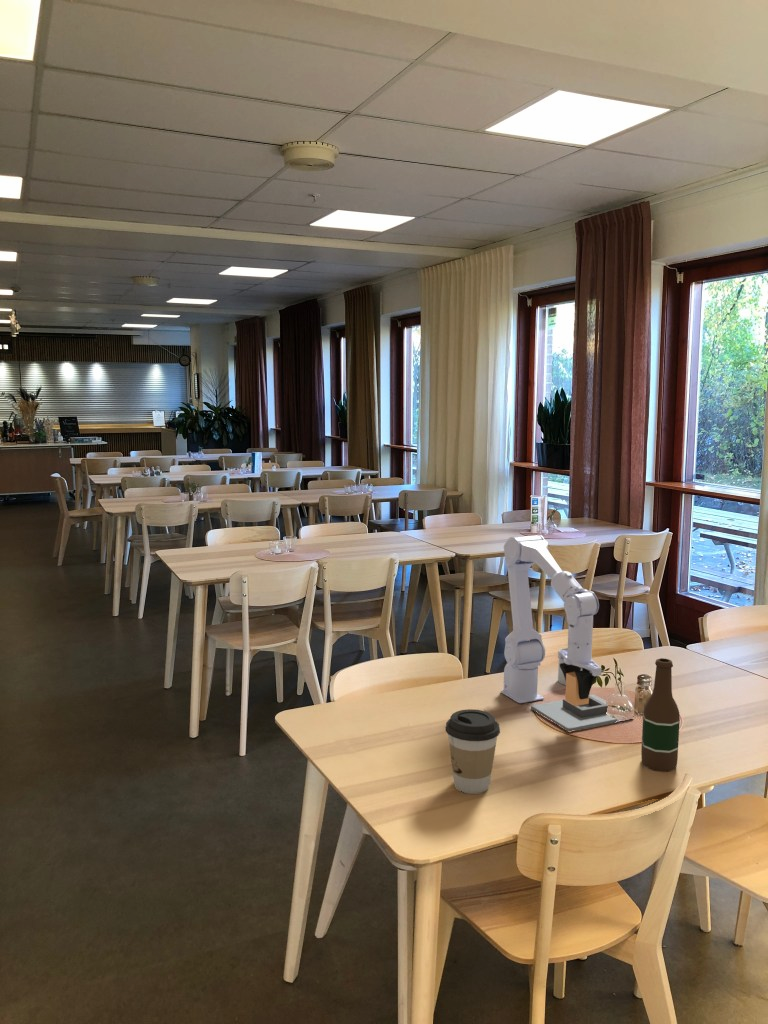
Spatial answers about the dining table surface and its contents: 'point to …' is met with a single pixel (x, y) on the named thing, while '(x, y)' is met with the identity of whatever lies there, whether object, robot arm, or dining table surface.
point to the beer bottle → (661, 722)
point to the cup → (560, 673)
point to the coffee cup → (472, 748)
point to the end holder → (576, 713)
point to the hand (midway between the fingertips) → (577, 695)
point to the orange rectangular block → (573, 690)
